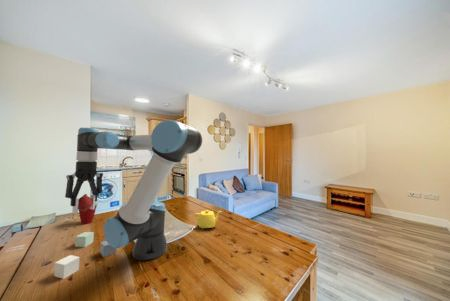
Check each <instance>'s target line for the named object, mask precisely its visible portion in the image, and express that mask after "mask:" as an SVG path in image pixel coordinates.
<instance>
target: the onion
mask: <svg viewBox="0 0 450 301" xmlns="http://www.w3.org/2000/svg"><path fill="white" fill-rule="evenodd" d="M78 198H79V200H78V209H79V210H80V211H83V212H84V211H86V210H87V209H89V208H90V207H91V205H92V203H93V202H92V199H91V198H90V196H88V194H87V193H85V194H83V195H82V196H80V197H78ZM79 210H78V211H79Z"/></svg>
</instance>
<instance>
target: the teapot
mask: <svg viewBox="0 0 450 301" xmlns="http://www.w3.org/2000/svg"><path fill="white" fill-rule="evenodd" d="M221 212H222V210H220V211H218V212H217V213H216V215H215V214H214V211H213V210H209V209H205V210H201V211H200V212H199V213H198V212H196V213H194V218H195V219H196V221H197V225H198V227H199V228H200V229H201V228H204V229H209V228H212V229H213V228H214V227H215V225H216V223H217V222H218V221H219V218H220V217H219V216H220V213H221ZM198 216H199V217H198Z"/></svg>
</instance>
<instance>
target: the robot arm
mask: <svg viewBox="0 0 450 301" xmlns="http://www.w3.org/2000/svg"><path fill="white" fill-rule="evenodd" d="M76 137H77V139H76V140H77V142H76V156H75V157H76V162H75V171H74V173H73V174H67V175H66V179H67V181H66V186H65V187H66V188H65V194H64V195H65V196H64V197H65V198H67V199H70V204H69V205H70V206H71V207H72V214H75V215H77V214H79V210H78V200H79V198H80V197H78V195H79V193H80V190H81V188H82V186H83V184H84V183H85V182H88V185H89V188H90V191H91V195H90V196H89V197H90V198H91V199H92V202H93V203H92V205H91V207H90V209H92V210H93V209H95V203H97V201H98V196H99V195H100V194H102V192H103V177H104V173H103V172H98V171H97V168H98V167H97V166H98V162H97V160H98V149H101V150H102V149H105V150H122V151H123V150H126V151H147V150H149V151H151V153H152V156H151V158H150V160H149V162H148V163H147V166H146V168H145V170H144V171H143V173H142V175H141V177H140V179H139V181H138V183H137V185H136V186H135V188H134V190H133V192H132V194H131V196H130V198H129V199H128V201H127V203H124V204H122V205H121V206H120V208H119V209H118V211H117V213H116V215H115V216H112V217H110V218H108V219H107V220H106V221H105V222H104V223H103V228H102V230H103V232H102V233H103V235H104V239H105V241H107V243H108V244H109V245H110V246H112V247H113V248H116V249H120V248H122V247H124V246H127V245H129V244H130V243H132V242H134V241H135V244H134V246H133V248H132V257H133V259H135V260H138V261H151V260H155V259H157V258H159V257H161V256H163V255H164V254H165V253H166V252H167V250H168V242H167V243H166V241H167V237H166V235H165V221H166V219H165V217H166V204H165V203H164V202H162V201H155V200H156V199H157V196H158V195H159V192H160V191H161V189H162V188H163V186H164V184H165V182H166V181H167V179H168V177H169V175H170V173H171V171H172V169H174V166H175V165H176V164H180V163H181V162H182V160H183V159H184V157H185V155H190V154H194V153H196V152H198V151H199V150H200V149H201V147H202V145H203V137H202V134H201V132H200V131H199V130H198V129H197V128H196V127H193V126H190V125H189V124H185V123H183V122H180V121H177V120H172V119H166V120H162V121H161V122H158V124H156V125H155V127H154V128H153V130H152V131H151V134H139V135H137V134H134V135H126V134H125V135H124V134H120V133H115V132H113V131H107V130H106V131H99V129H97V128H93V127H79V129H78V131H77V136H76ZM95 177H96V178H95ZM75 178H77V179H76V182H75V180H74V179H75ZM95 179H96V183H95ZM74 183H75V184H74Z"/></svg>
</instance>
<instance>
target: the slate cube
mask: <svg viewBox="0 0 450 301" xmlns="http://www.w3.org/2000/svg"><path fill="white" fill-rule="evenodd" d="M99 249H100V250H99V251H100V252H99V253H100V256H102V258H105V257H108V256H111V255H113V254H116V253H117V248H113V247H112V246H110V245H109V244H108V243H107V241H106V240H103V241H101V242H100V248H99Z"/></svg>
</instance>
